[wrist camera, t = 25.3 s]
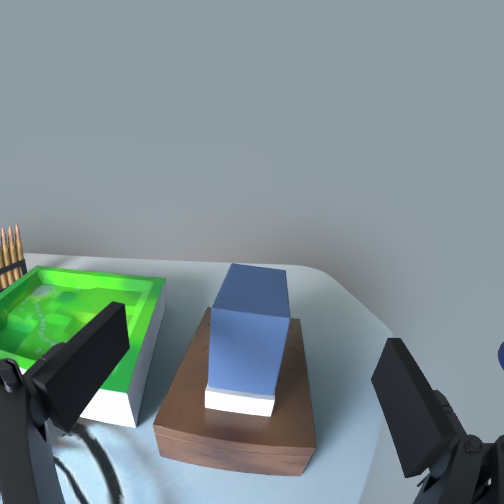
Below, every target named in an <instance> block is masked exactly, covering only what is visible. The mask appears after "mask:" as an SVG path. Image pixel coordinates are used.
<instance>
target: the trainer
mask: <svg viewBox="0 0 504 504" xmlns="http://www.w3.org/2000/svg"><path fill="white" fill-rule="evenodd" d="M289 324H290V309H289V299H288V289H287V279H286V271H285V270H279V269H271V268H263V267H256V266H248V265H240V264H233V263H232V264H231V266H230V268H229V271H228V273H227V275H226V277H225V279H224V282H223V284H222V286H221V288H220V290H219V293H218V295H217V297H216V299H215V301H214V304H213V306H212V308H211V324H210V345H209V372H208V384H207V387H206V390H205V407H206V408H212V409H217V410H223V411H230V412H237V413H244V414H252V415H261V416H271V414H272V410H273V406H274V402H275V388H276V384H277V379H278V375H279V371H280V366H281V362H282V357H283V353H284V348H285V343H286V338H287V334H288V329H289Z"/></svg>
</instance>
